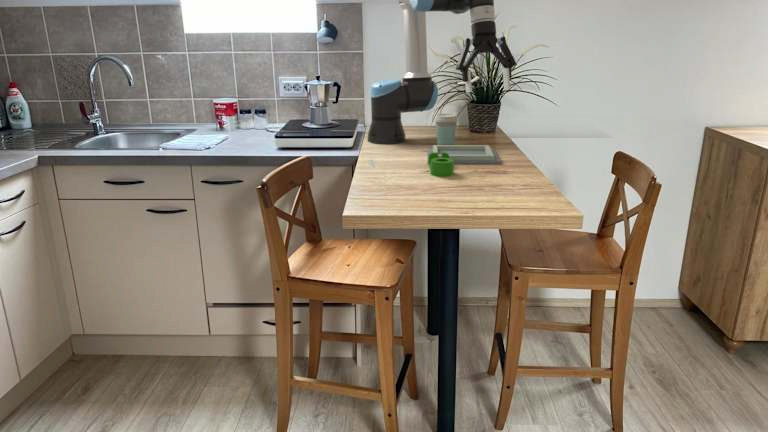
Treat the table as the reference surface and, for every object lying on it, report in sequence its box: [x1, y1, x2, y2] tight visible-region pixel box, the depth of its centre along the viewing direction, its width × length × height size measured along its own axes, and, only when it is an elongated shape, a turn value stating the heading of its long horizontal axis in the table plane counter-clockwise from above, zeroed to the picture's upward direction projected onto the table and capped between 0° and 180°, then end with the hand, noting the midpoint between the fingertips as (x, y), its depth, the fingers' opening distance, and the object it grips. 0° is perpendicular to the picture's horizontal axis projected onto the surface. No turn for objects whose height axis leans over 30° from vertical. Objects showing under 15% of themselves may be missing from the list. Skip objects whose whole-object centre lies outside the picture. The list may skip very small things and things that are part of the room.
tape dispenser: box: [427, 152, 455, 178], centre depth 185 cm, size 15×7×5 cm, turn 1°
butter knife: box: [367, 159, 376, 169], centre depth 188 cm, size 1×27×3 cm
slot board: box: [426, 144, 502, 165], centre depth 202 cm, size 24×20×2 cm
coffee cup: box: [434, 113, 459, 145], centre depth 217 cm, size 8×8×12 cm
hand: (488, 90), depth 186 cm, fingers open, 13 cm apart
